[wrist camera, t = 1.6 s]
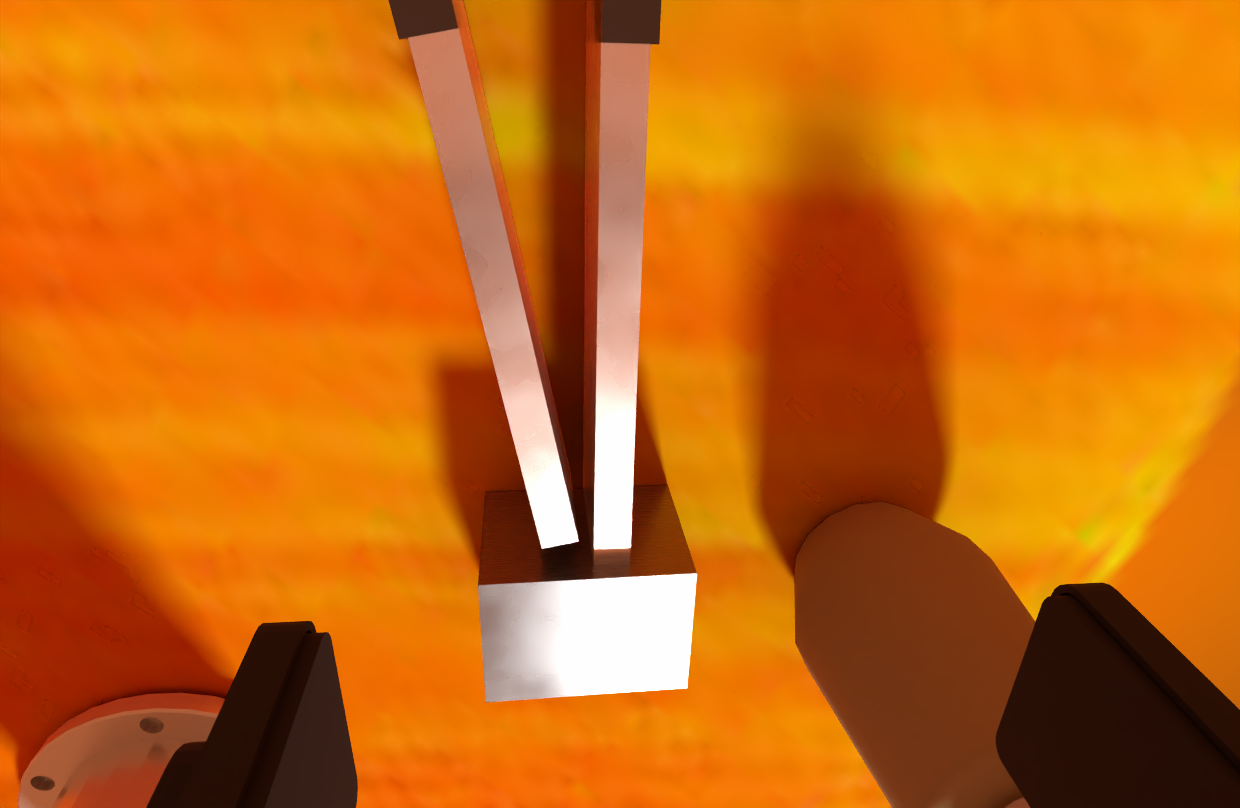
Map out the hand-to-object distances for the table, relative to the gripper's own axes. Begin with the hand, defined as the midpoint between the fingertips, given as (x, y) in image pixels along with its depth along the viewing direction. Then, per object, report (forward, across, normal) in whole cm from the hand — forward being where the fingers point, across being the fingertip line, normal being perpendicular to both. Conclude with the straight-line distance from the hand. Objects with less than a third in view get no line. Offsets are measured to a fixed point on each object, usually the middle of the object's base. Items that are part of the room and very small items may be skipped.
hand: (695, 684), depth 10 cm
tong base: (+18, +1, +1) cm, 18 cm away
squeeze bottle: (+18, -11, +12) cm, 25 cm away
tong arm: (+17, +3, -2) cm, 18 cm away
